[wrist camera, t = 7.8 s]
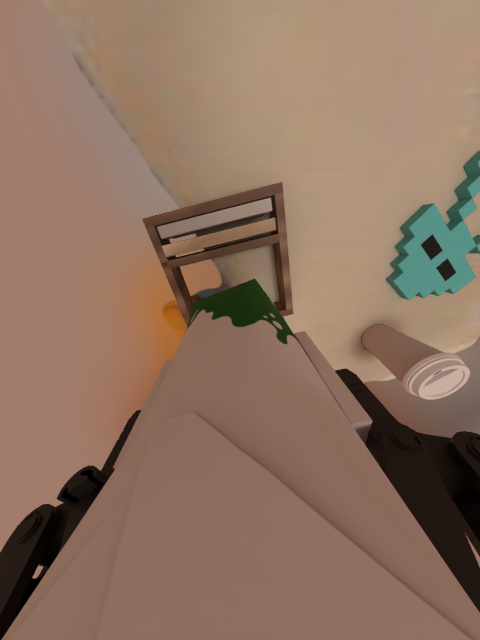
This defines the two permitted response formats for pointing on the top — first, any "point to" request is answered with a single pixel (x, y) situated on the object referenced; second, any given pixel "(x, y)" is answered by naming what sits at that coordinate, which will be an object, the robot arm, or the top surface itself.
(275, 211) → the offcut rack
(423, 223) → the alien figure
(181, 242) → the birch offcut
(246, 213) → the grey offcut
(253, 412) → the soya milk
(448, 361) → the coffee cup
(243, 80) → the top surface
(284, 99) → the top surface
